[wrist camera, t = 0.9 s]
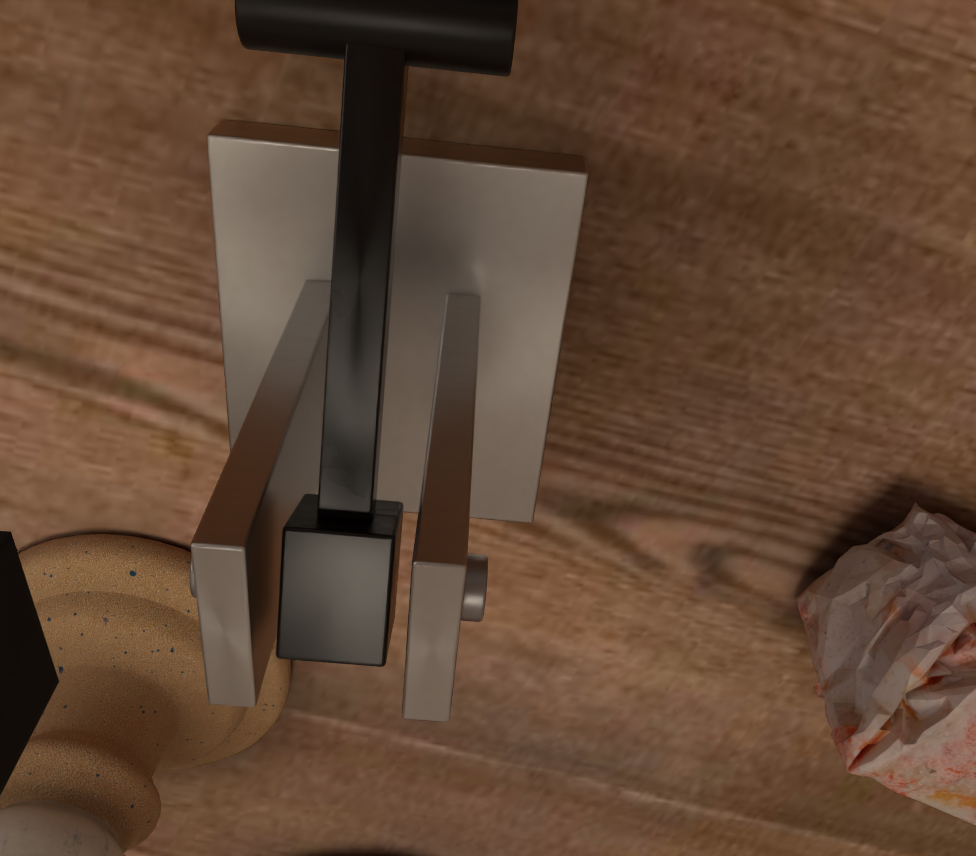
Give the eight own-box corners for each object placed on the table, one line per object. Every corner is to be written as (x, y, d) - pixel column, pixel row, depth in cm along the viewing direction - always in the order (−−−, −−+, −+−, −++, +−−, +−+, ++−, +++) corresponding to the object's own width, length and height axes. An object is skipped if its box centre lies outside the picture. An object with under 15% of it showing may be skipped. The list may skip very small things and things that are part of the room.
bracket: (220, 118, 25) (4, 345, 14) (585, 155, 25) (643, 403, 14) (243, 471, 31) (109, 806, 21) (531, 496, 32) (544, 837, 21)
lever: (261, -25, 18) (229, -64, 15) (515, 3, 18) (522, -31, 16) (234, 606, 20) (204, 654, 18) (456, 624, 21) (454, 673, 18)
